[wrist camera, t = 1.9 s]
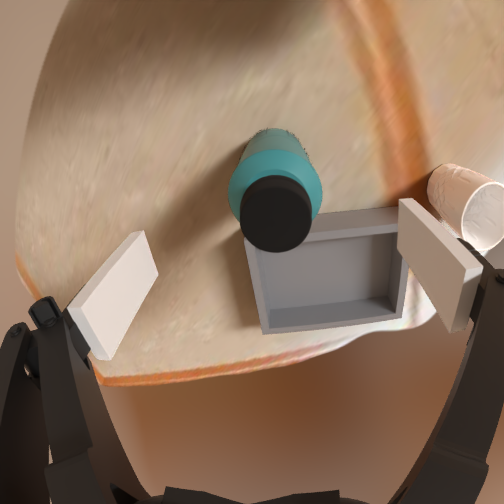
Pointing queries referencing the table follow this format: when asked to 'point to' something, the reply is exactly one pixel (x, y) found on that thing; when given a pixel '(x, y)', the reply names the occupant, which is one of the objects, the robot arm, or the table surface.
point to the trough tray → (332, 274)
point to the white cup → (468, 204)
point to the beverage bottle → (275, 191)
